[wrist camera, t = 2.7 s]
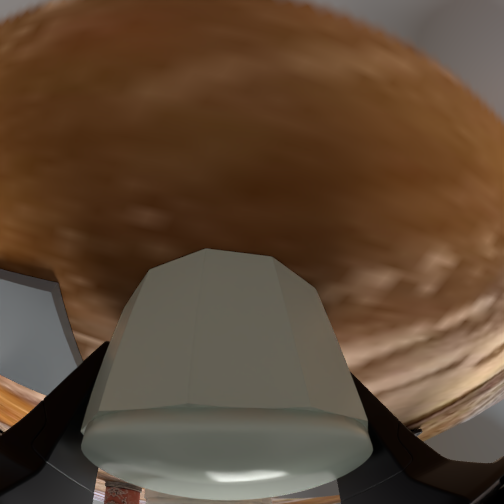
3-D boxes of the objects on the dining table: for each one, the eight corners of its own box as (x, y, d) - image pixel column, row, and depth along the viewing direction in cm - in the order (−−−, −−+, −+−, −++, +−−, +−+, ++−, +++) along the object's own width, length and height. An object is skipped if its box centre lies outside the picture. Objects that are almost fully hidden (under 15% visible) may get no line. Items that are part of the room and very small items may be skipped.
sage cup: (291, 393, 12) (311, 493, 7) (138, 380, 11) (118, 485, 6) (350, 266, 9) (434, 406, 4) (118, 237, 8) (26, 388, 3)
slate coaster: (102, 405, 12) (100, 413, 12) (-3, 365, 11) (-6, 371, 10) (58, 282, 8) (51, 292, 8) (-54, 252, 7) (-60, 258, 6)
